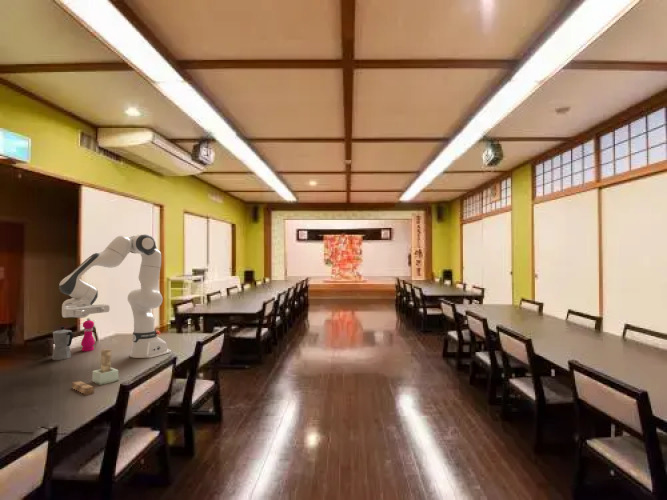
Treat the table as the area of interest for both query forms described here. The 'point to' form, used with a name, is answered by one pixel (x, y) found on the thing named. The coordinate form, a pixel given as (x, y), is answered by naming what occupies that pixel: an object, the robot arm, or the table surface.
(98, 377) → the pale green hollow block
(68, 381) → the table surface
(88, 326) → the pepper mill
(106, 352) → the tan wooden block
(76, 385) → the tan wooden bar
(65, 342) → the coffeepot
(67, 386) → the table surface
